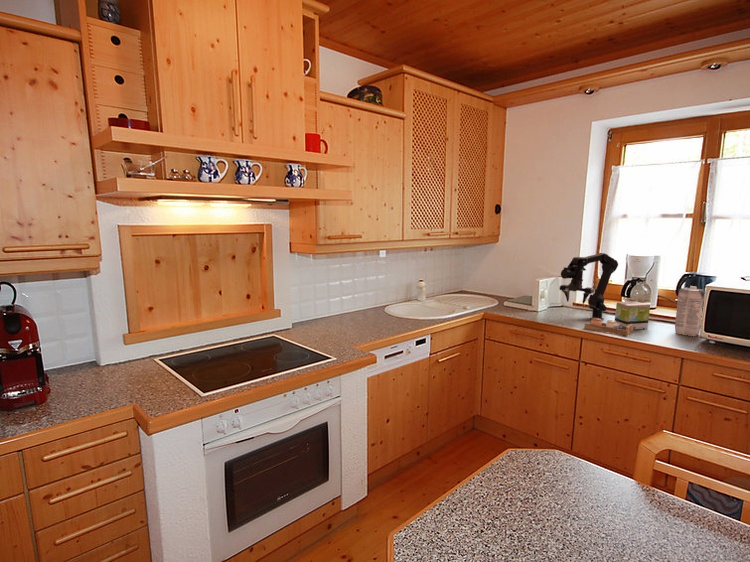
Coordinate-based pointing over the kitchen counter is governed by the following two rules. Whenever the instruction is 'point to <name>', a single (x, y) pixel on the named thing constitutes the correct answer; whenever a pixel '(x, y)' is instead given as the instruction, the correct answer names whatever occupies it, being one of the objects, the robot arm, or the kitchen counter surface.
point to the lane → (610, 329)
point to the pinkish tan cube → (596, 321)
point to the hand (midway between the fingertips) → (575, 302)
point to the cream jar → (611, 324)
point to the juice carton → (689, 311)
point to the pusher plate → (619, 326)
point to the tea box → (632, 314)
